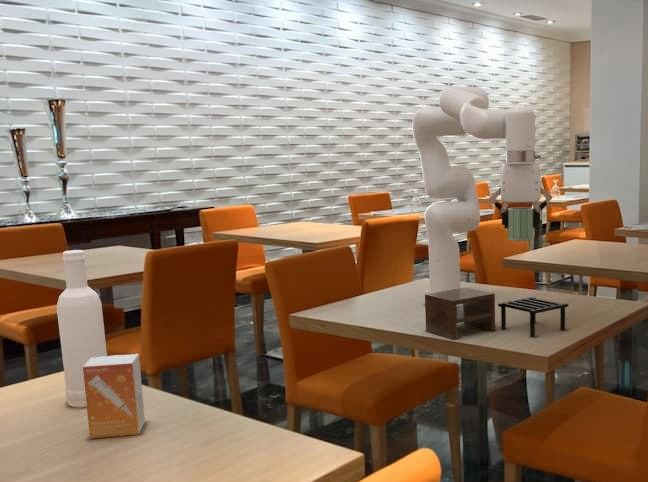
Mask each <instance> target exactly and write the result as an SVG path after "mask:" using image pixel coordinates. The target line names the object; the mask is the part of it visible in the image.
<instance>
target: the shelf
mask: <svg viewBox="0 0 648 482" xmlns="http://www.w3.org/2000/svg"><path fill="white" fill-rule="evenodd" d="M459 304H463V306H459V307H457V305H459ZM424 309H425V310H424V311H425V332H426V333H427V332H428V333H430V334H434V335H437V336H441V337H444V338H447V339H450V340H457V339H458V324H461V323H463V324H464V325H466V326H467V325H468V326H471V327H474V328H478V329H482V330H486V331H490V332H495V331H496V293H495V292H489V291H484V290H479V289H475V288H471V287H460V289H454V290H448V291H442V292H436V293H430V294H424Z"/></svg>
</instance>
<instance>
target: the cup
mask: <svg viewBox="0 0 648 482" xmlns="http://www.w3.org/2000/svg"><path fill="white" fill-rule="evenodd" d="M506 210H507V227H508V228H506V229H507V231H506V232H507V234H506V235H507V240H508V241H511V242H528V241H529V242H531V241H534V240H535V236H536V235H535V234H536V233H535V228H534V212H535V208H534V207H509V208H507V209H506Z"/></svg>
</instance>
